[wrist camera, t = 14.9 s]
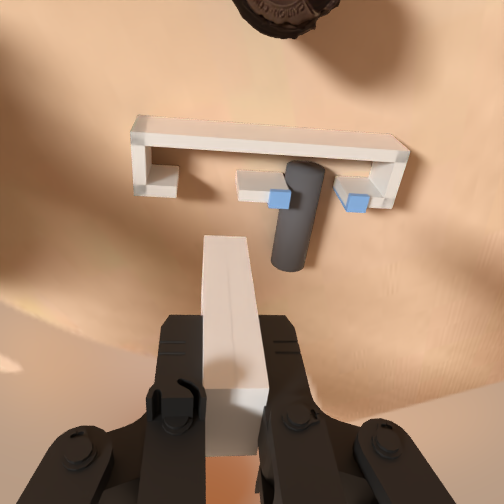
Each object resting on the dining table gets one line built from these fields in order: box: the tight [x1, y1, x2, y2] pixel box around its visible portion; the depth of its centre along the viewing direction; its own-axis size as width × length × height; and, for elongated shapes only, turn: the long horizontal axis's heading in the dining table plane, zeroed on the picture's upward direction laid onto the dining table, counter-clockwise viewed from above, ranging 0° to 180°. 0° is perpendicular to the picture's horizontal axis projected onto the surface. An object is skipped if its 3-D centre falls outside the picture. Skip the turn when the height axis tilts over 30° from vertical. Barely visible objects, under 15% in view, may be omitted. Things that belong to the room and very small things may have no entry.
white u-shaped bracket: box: [130, 115, 410, 213], centre depth 42 cm, size 26×6×6 cm, turn 84°
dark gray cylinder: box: [271, 160, 325, 272], centre depth 47 cm, size 12×4×4 cm
